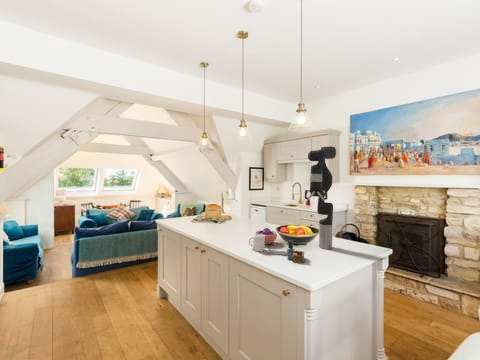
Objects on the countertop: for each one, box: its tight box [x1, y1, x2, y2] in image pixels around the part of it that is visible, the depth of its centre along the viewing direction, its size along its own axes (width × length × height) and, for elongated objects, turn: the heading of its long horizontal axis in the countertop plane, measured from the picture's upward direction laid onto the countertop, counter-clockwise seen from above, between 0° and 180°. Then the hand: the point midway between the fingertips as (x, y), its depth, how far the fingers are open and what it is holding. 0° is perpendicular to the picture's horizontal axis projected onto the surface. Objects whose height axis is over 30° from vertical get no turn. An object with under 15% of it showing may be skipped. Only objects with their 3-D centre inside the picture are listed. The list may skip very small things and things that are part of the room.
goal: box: [292, 250, 305, 264], centre depth 160 cm, size 10×6×4 cm, turn 165°
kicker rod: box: [286, 239, 296, 260], centre depth 166 cm, size 12×5×9 cm, turn 165°
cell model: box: [255, 227, 278, 245], centre depth 199 cm, size 17×20×11 cm
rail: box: [267, 247, 298, 257], centre depth 171 cm, size 3×19×3 cm, turn 75°
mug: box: [248, 233, 266, 252], centre depth 181 cm, size 12×8×10 cm
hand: (315, 205), depth 167 cm, fingers open, 8 cm apart
